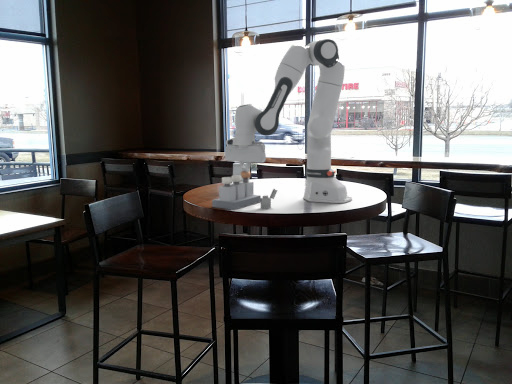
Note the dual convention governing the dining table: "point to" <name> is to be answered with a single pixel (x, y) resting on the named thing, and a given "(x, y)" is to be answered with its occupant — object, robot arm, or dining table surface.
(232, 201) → the mount plate
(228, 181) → the knob
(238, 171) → the skincare box
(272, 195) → the lighter
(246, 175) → the knob
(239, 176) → the knob mid
